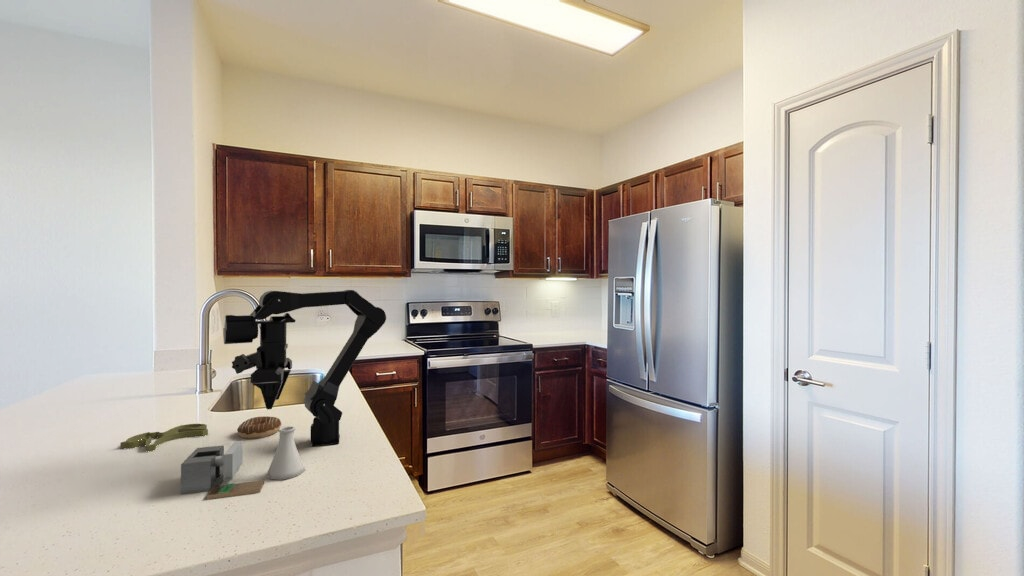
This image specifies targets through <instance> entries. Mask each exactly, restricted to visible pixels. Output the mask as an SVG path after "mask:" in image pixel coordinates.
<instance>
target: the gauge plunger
mask: <svg viewBox="0 0 1024 576" xmlns="http://www.w3.org/2000/svg"><path fill="white" fill-rule="evenodd" d="M243 442H244V441H243V440H236V441H235V440H234V441H233V442H232V443H231V445H230V446H229V447H228V448H227V450H226V451H224V456H215V466H223V474H222V476H223V479H222V480H223V481H222V482H221V486H220V485H219V486H220V488H224V487H225V485H226V484H228V482H229V480H233V479H234V477H235V476H236V474H237V473H238V472H239V470H240V468H241V466H242V465H243Z"/></svg>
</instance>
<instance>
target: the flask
mask: <svg viewBox="0 0 1024 576" xmlns="http://www.w3.org/2000/svg"><path fill="white" fill-rule="evenodd" d="M294 431H296V427H295V426H293V425H292V426H291V425H286V426H283V427H282V426H281V427H280V429H278V431H277V432H278V433H279V439H278V445H277V448H276V450H275V452H274V455H273V457H272V461H271V463H270V465H269V468H268V470H267V472H266V476H267V477H268V478H270V480H282V481H284V480H287V479H290V478H293V477H297V476H299V475H300V474H302V473H303V472H305V471H306V468H305V466H304V463H303V461H302V458H301V456H300V454H299V452H298V449H297V445H296V441H295V437H294V433H295V432H294Z"/></svg>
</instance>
